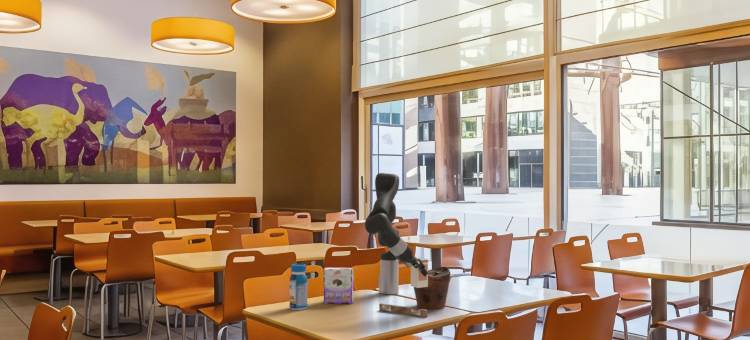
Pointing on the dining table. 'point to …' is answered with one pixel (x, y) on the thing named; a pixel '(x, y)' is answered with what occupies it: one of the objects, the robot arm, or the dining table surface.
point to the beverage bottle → (298, 287)
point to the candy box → (338, 285)
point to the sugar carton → (419, 275)
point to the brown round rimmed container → (434, 289)
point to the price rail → (403, 310)
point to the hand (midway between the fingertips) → (422, 273)
